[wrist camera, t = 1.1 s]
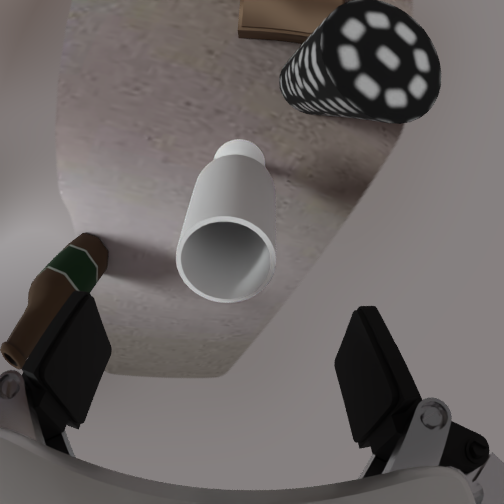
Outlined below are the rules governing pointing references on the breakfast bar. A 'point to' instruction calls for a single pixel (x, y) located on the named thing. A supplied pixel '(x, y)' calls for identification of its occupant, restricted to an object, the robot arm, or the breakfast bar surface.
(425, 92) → the spotted tube
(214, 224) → the champagne flute
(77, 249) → the beer bottle
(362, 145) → the breakfast bar surface
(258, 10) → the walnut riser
